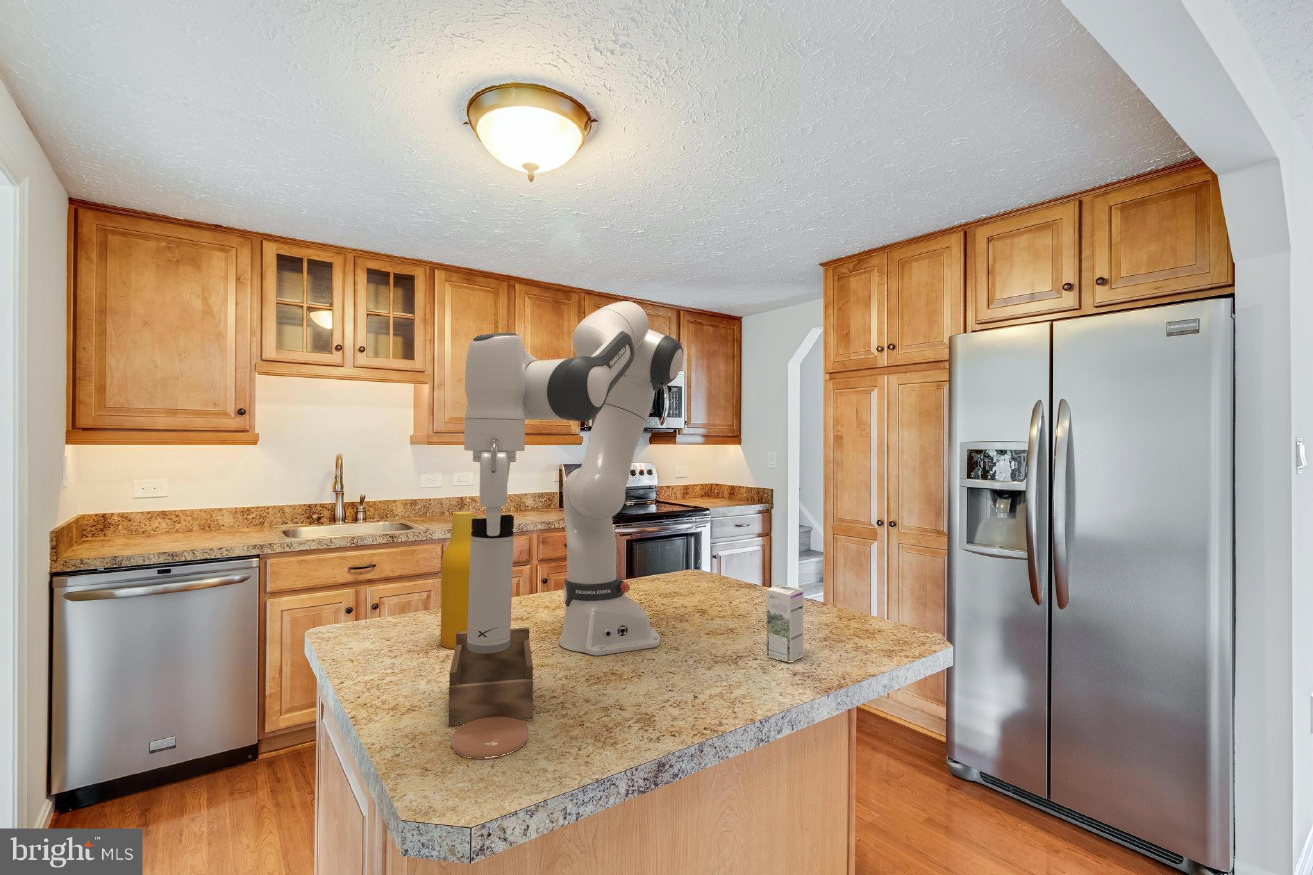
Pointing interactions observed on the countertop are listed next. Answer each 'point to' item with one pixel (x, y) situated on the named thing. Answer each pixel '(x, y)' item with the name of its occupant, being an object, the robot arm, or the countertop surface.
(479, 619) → the travel mug
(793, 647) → the syrup box
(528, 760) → the countertop surface
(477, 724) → the saucer
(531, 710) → the frame
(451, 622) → the beer bottle
